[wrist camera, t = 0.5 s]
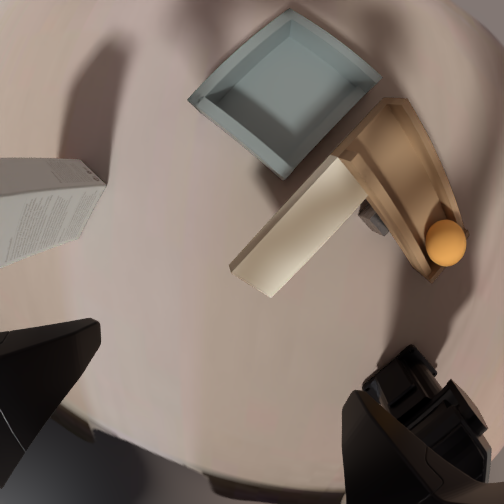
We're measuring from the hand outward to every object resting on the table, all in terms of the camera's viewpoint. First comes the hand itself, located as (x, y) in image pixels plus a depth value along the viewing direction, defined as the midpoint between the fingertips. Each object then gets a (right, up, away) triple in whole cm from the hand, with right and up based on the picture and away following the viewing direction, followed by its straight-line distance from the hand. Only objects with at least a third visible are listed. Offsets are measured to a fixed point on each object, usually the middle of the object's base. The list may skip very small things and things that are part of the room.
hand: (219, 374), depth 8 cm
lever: (+8, +5, +8) cm, 13 cm away
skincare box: (-14, +8, +12) cm, 20 cm away
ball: (+14, +4, +7) cm, 17 cm away
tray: (+4, +15, +9) cm, 18 cm away
